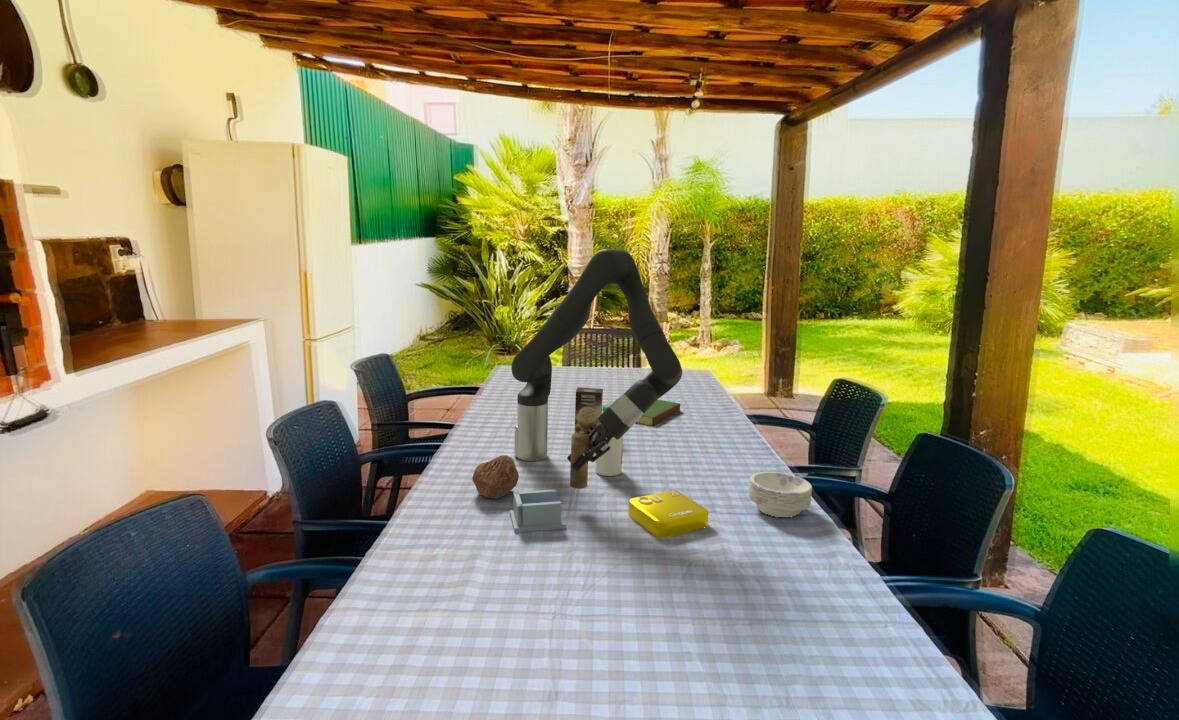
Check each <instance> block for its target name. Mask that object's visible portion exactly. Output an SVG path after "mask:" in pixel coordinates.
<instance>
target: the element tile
mask: <svg viewBox="0 0 1179 720" xmlns="http://www.w3.org/2000/svg"><path fill="white" fill-rule="evenodd" d="M627 514H628V517H629V518H630V519H632V520H633V521H634V522H636V523H637V524H638V525H639V526H640V527H642V528H643V529H644V530H646V531H649V532H648V533H650V534H651V535H652V536H654V537H656V538H660V537H664V538H669V537H668V536H670V537H673V536H672V535H674V536H677V535H676V534H678V535H682V534H681V533H683V534H686V533H685V532H687V533H689V532H688V531H692V532H694V531H693V530H696V529H700V528H704V527H707V528H708V526H707V525H708V524H709V510H708V509H707V508H705V507H704V506H703V505H701V504H699V503H698V502H696V501H694V500H693V499H691V498H690V497H688V496H686V495H685V494H683V493H682V492H681V491H678V490H670V491H669V490H668V491H663V492H659V493H658V492H657V493H652V494H645V495H642V496H637V497H636V496H635V497H633V498H630V499H629V500H628V513H627ZM704 529H705V528H704ZM700 530H701V529H700ZM696 531H697V530H696Z"/></svg>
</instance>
